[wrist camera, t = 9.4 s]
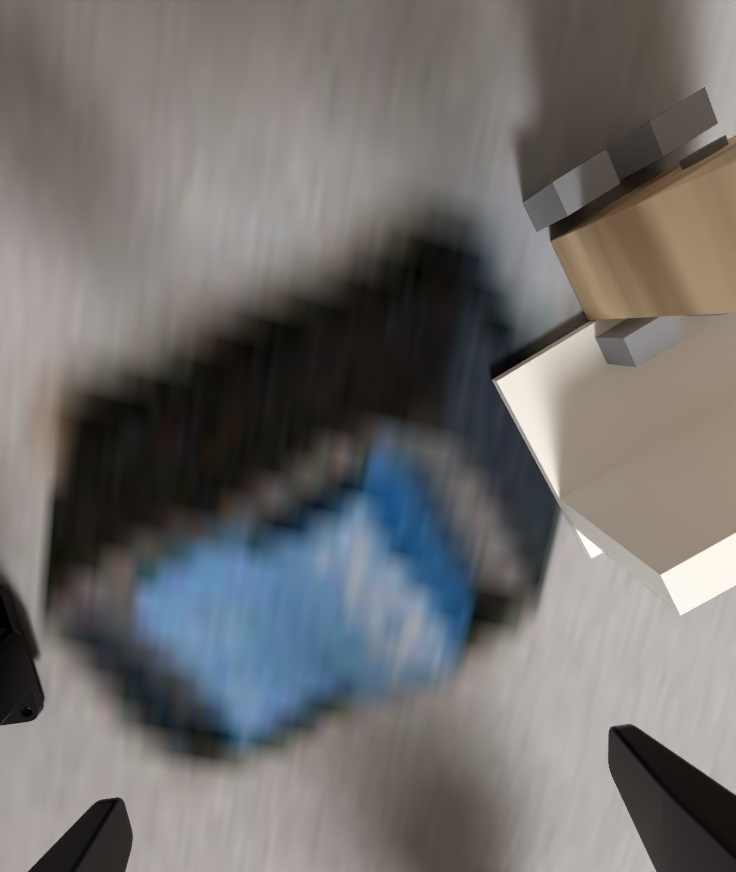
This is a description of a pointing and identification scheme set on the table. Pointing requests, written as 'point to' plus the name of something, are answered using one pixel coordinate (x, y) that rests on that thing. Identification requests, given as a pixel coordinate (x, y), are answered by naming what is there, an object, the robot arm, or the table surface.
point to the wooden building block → (661, 244)
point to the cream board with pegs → (638, 408)
